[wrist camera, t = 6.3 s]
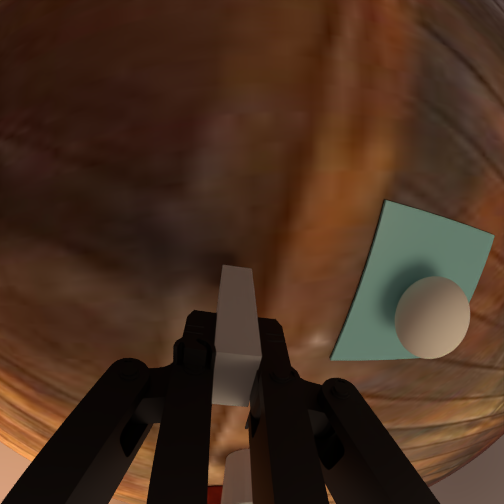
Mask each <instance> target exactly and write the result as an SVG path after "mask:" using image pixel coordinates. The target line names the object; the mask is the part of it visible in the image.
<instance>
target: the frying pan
mask: <svg viewBox="0 0 504 504" xmlns="http://www.w3.org/2000/svg"><path fill="white" fill-rule="evenodd" d="M222 489H223V486H208V494H207V504H221V498H222Z"/></svg>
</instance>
